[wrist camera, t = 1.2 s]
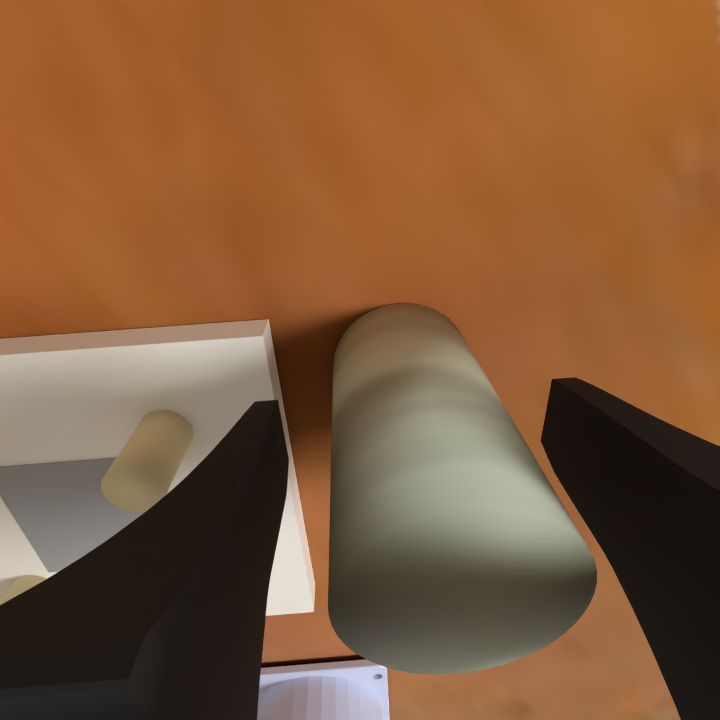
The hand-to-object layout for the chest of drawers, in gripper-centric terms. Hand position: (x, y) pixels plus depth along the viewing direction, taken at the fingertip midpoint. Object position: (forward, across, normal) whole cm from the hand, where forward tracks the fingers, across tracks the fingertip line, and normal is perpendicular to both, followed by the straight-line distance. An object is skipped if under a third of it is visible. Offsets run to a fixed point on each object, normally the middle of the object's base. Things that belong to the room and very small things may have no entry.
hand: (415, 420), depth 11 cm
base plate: (+3, +11, +5) cm, 12 cm away
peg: (+3, 0, 0) cm, 3 cm away
